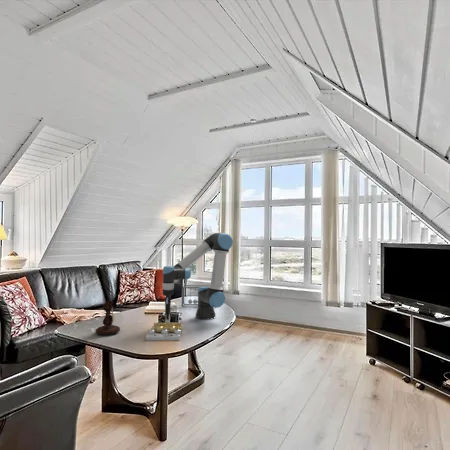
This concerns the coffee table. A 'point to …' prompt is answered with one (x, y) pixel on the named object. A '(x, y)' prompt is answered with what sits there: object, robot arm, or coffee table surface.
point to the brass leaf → (167, 327)
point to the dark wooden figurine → (108, 321)
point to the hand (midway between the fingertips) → (167, 323)
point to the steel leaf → (163, 335)
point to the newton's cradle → (190, 295)
